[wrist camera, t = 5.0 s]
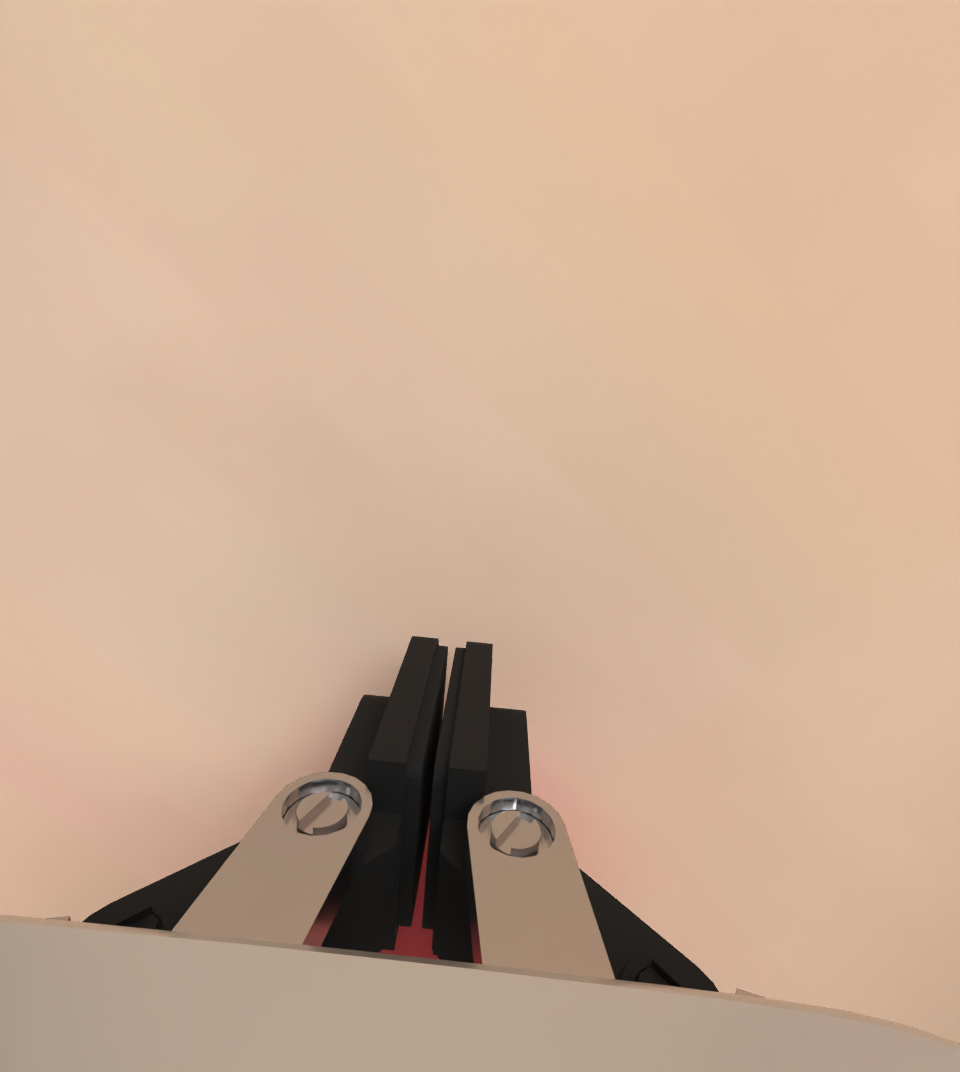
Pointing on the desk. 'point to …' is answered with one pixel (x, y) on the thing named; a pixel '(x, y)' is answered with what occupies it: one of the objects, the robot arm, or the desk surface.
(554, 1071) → the robot arm
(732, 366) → the desk surface
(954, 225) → the desk surface
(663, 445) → the desk surface
